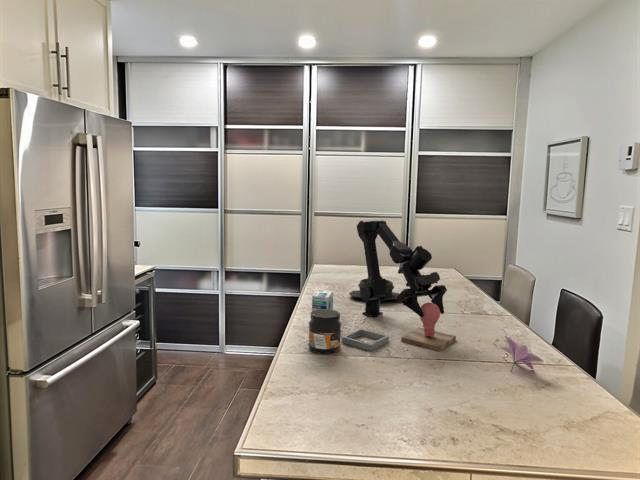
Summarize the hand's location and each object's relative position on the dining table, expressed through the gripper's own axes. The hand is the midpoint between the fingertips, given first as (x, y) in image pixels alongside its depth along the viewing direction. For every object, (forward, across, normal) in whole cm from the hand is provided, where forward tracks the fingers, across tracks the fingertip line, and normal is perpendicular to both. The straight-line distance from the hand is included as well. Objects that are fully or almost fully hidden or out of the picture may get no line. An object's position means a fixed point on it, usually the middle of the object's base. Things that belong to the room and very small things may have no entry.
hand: (433, 315), depth 152 cm
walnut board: (+6, 0, +8) cm, 10 cm away
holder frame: (0, -21, +14) cm, 25 cm away
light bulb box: (-19, -22, +33) cm, 45 cm away
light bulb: (+5, 0, +7) cm, 8 cm away
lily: (+27, +8, -13) cm, 31 cm away
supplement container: (0, -37, +14) cm, 39 cm away
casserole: (-32, +16, +46) cm, 59 cm away
